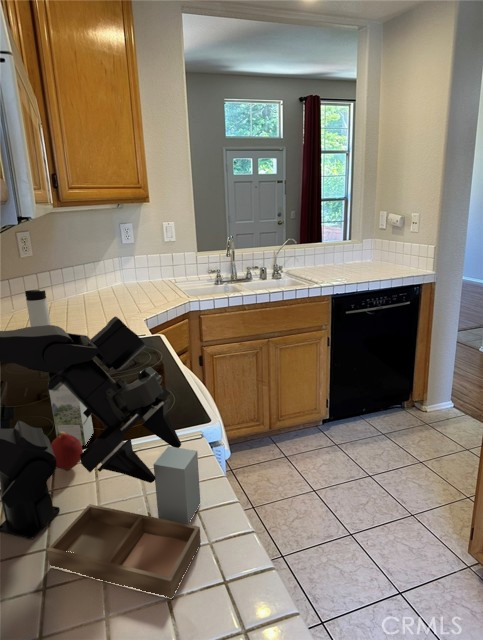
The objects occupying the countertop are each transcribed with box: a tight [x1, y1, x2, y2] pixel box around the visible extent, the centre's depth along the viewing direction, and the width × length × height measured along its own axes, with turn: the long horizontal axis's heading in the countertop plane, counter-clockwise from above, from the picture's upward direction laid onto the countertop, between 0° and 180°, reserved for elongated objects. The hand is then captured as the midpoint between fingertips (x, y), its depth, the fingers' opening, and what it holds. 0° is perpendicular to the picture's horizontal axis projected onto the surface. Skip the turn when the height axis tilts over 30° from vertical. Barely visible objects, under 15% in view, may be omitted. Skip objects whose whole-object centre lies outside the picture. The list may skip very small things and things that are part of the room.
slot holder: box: [46, 503, 202, 598], centre depth 60 cm, size 18×9×3 cm, turn 73°
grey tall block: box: [152, 445, 201, 525], centre depth 68 cm, size 5×5×10 cm
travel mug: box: [24, 289, 52, 327], centre depth 149 cm, size 6×7×20 cm
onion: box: [50, 432, 84, 472], centre depth 80 cm, size 6×6×8 cm
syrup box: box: [48, 384, 94, 446], centre depth 88 cm, size 6×6×14 cm
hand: (167, 462), depth 67 cm, fingers open, 9 cm apart
